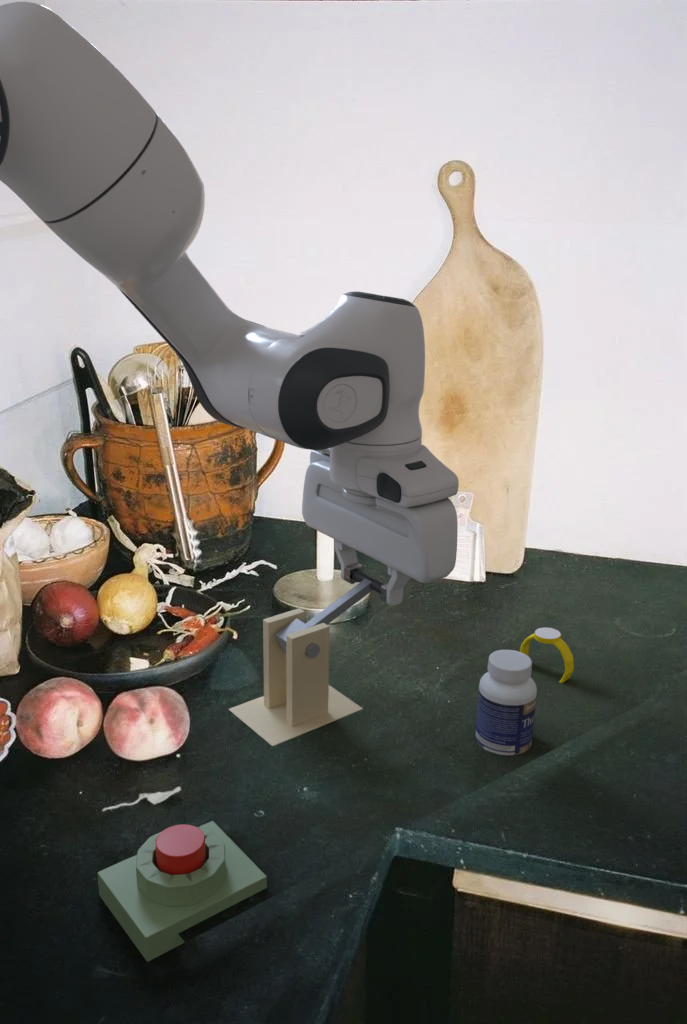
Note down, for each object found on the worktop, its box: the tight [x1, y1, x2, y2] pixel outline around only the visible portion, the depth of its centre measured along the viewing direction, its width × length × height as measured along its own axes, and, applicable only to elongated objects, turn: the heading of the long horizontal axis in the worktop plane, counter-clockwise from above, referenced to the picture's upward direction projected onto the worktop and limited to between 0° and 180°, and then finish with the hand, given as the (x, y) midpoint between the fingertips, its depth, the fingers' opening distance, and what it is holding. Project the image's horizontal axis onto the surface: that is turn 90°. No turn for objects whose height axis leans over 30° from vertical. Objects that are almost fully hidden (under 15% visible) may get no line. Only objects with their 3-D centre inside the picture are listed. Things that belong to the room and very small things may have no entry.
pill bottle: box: [474, 649, 538, 756], centre depth 88 cm, size 5×5×10 cm
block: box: [96, 820, 268, 963], centre depth 70 cm, size 10×8×4 cm
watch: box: [519, 627, 575, 684], centre depth 101 cm, size 6×3×6 cm, turn 47°
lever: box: [275, 570, 386, 654], centre depth 93 cm, size 12×5×2 cm, turn 128°
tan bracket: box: [228, 607, 364, 747], centre depth 92 cm, size 11×8×11 cm
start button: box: [156, 823, 206, 875], centre depth 69 cm, size 4×4×2 cm
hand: (371, 591), depth 96 cm, fingers closed on lever, 5 cm apart
